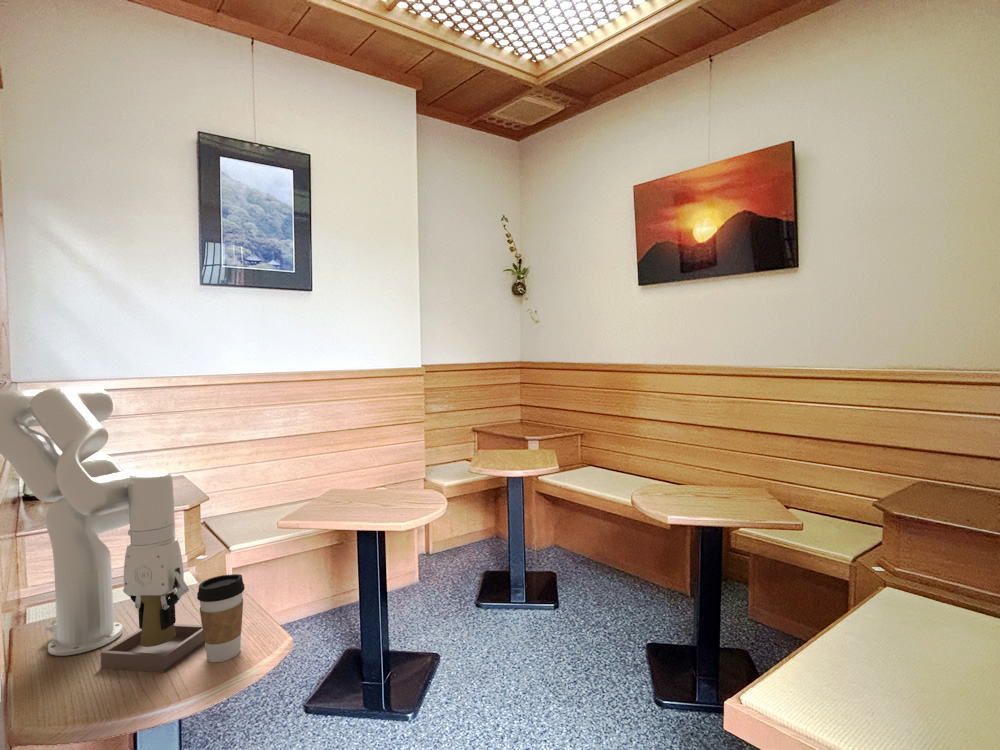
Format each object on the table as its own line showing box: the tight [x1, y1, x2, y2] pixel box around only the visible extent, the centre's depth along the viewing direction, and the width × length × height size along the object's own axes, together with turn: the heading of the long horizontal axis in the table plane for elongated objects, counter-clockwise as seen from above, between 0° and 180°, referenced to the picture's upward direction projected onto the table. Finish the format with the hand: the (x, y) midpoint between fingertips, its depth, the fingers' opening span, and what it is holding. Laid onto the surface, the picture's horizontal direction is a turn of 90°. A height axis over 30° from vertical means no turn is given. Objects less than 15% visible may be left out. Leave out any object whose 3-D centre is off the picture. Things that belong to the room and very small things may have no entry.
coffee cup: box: [196, 573, 245, 663], centre depth 105 cm, size 8×8×15 cm
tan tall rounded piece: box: [140, 594, 176, 647], centre depth 106 cm, size 6×6×11 cm
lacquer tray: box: [100, 623, 205, 673], centre depth 106 cm, size 14×12×3 cm
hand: (157, 625), depth 106 cm, fingers closed on tan tall rounded piece, 4 cm apart
